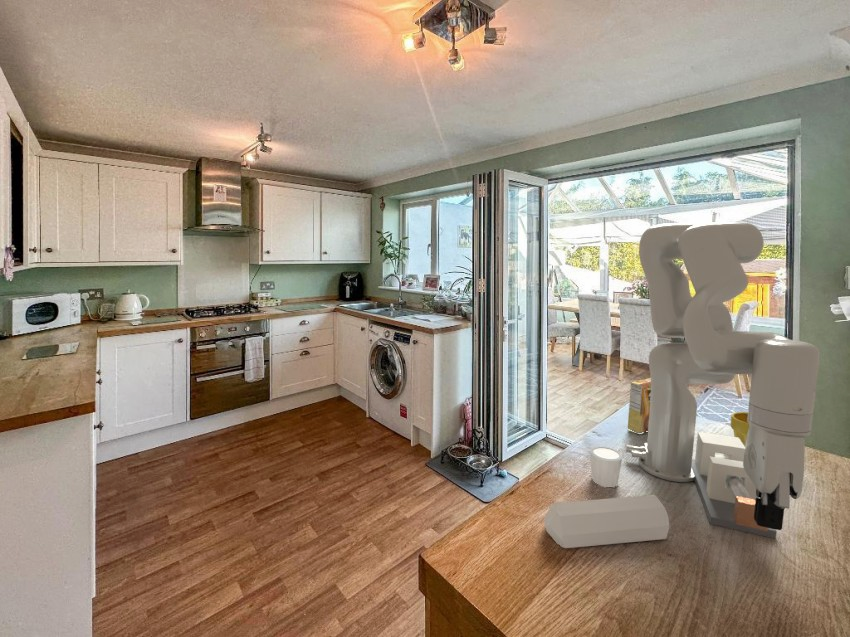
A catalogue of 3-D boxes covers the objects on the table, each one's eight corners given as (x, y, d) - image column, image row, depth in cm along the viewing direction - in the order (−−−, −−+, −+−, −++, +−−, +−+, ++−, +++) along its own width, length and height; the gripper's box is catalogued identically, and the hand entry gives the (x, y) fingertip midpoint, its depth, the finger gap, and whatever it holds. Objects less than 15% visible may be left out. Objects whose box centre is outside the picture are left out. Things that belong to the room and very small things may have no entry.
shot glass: (583, 473, 95) (584, 446, 94) (610, 472, 96) (612, 445, 95) (598, 490, 88) (599, 461, 87) (627, 488, 89) (629, 459, 88)
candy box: (645, 424, 122) (649, 377, 120) (659, 430, 118) (663, 381, 116) (626, 430, 118) (629, 381, 116) (639, 436, 114) (643, 385, 112)
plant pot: (736, 441, 110) (740, 408, 109) (784, 456, 102) (789, 420, 100) (721, 452, 104) (724, 417, 103) (770, 468, 96) (775, 431, 94)
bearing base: (775, 538, 73) (781, 491, 71) (710, 523, 77) (714, 479, 75) (737, 472, 94) (742, 435, 93) (688, 464, 99) (691, 428, 97)
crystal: (558, 540, 68) (686, 528, 70) (544, 499, 73) (663, 490, 76) (547, 557, 72) (668, 546, 75) (535, 518, 78) (648, 508, 80)
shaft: (767, 531, 69) (770, 508, 68) (736, 524, 71) (739, 502, 70) (735, 474, 87) (737, 455, 86) (711, 470, 89) (713, 452, 88)
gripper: (735, 400, 70) (727, 495, 73) (765, 431, 57) (753, 547, 59) (790, 406, 67) (779, 505, 69) (834, 440, 54) (819, 563, 56)
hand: (767, 524), depth 64 cm, fingers closed
